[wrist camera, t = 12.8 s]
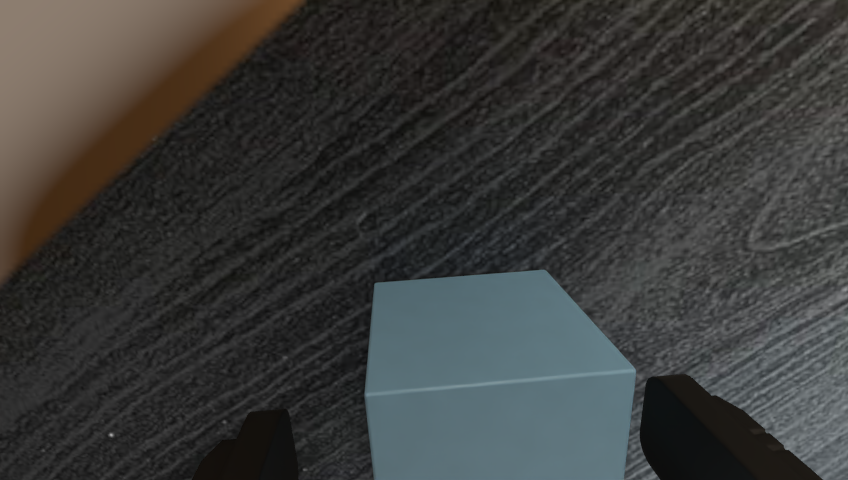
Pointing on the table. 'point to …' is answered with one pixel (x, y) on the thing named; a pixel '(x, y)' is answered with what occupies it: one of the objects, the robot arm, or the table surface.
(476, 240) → the table surface
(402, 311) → the blue-grey cube
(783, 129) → the table surface
